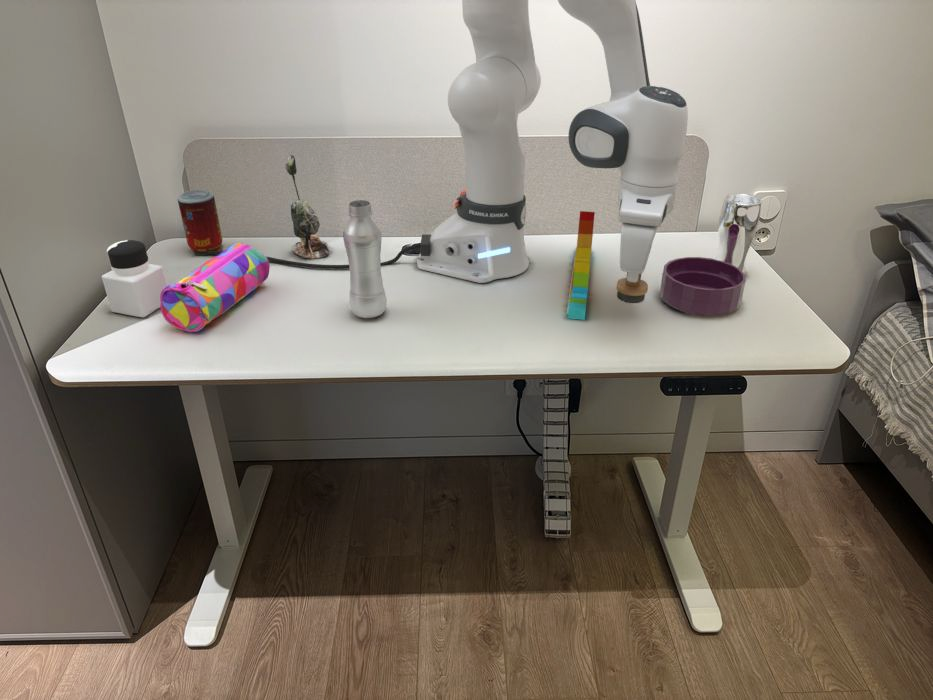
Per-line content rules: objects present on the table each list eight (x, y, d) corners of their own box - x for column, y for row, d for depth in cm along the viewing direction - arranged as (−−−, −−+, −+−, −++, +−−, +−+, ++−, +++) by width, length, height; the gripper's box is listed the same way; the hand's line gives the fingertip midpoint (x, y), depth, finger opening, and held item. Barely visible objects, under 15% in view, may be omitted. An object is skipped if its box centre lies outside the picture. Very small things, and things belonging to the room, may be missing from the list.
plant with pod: (285, 264, 141) (271, 166, 130) (297, 243, 150) (284, 150, 140) (325, 264, 141) (314, 166, 130) (334, 242, 150) (324, 149, 140)
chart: (575, 251, 146) (581, 181, 138) (590, 252, 146) (597, 181, 138) (566, 318, 120) (572, 237, 113) (584, 320, 120) (592, 238, 112)
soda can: (188, 246, 149) (176, 190, 143) (222, 241, 151) (212, 186, 145) (189, 258, 143) (177, 200, 137) (225, 253, 145) (214, 196, 139)
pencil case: (208, 341, 114) (197, 291, 109) (160, 332, 116) (147, 284, 112) (276, 286, 132) (269, 241, 127) (233, 279, 134) (225, 235, 130)
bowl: (656, 312, 123) (660, 283, 120) (662, 279, 134) (666, 253, 131) (740, 323, 119) (746, 294, 116) (739, 289, 130) (745, 262, 127)
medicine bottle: (171, 301, 127) (156, 239, 120) (143, 318, 121) (126, 254, 115) (139, 295, 129) (123, 234, 122) (110, 312, 123) (92, 249, 117)
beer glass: (749, 282, 133) (766, 206, 125) (711, 279, 134) (725, 203, 126) (744, 267, 139) (760, 194, 131) (707, 264, 140) (721, 192, 132)
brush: (613, 301, 118) (620, 251, 113) (617, 288, 123) (624, 239, 118) (644, 306, 117) (653, 255, 112) (647, 293, 121) (655, 243, 116)
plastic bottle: (358, 325, 118) (347, 213, 108) (345, 309, 124) (333, 200, 113) (393, 317, 121) (386, 206, 111) (379, 302, 126) (371, 194, 116)
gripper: (633, 175, 120) (622, 250, 127) (618, 215, 103) (606, 298, 110) (671, 179, 118) (657, 255, 125) (661, 220, 101) (646, 304, 109)
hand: (633, 275), depth 118 cm, fingers closed on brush, 2 cm apart
